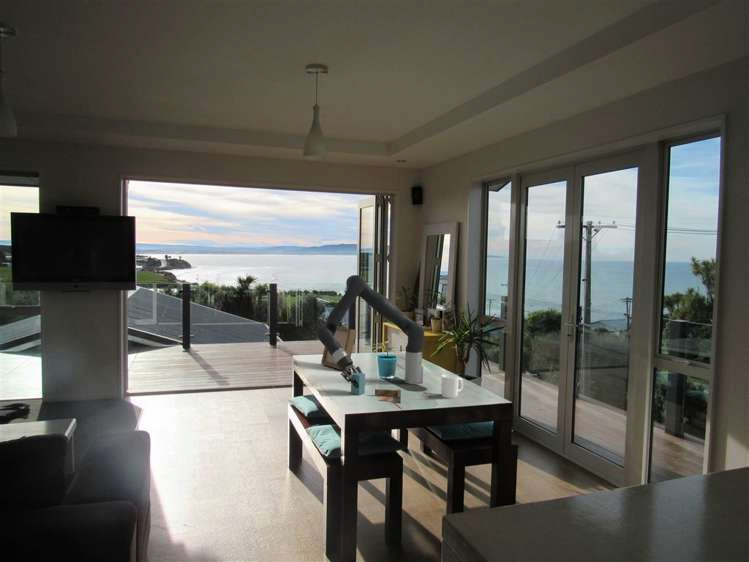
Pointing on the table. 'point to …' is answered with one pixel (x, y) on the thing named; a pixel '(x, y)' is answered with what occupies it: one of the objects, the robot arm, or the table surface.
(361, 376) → the teal block
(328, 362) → the photo frame
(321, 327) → the robot arm
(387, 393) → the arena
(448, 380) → the cup
